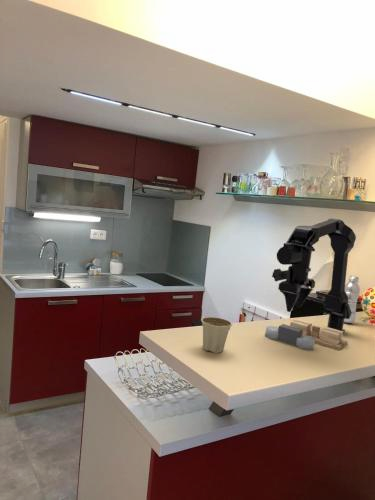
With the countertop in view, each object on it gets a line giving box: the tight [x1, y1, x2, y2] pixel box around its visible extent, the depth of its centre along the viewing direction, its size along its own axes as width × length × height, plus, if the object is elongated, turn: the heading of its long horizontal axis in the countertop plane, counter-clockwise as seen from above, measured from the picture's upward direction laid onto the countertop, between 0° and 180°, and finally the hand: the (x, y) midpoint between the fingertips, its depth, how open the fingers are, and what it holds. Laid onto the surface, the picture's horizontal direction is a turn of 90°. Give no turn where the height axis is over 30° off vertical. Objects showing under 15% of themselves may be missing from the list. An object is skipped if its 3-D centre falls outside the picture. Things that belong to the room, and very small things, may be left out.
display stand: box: [289, 318, 348, 351], centre depth 146 cm, size 10×20×4 cm, turn 55°
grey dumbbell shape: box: [264, 323, 316, 351], centre depth 139 cm, size 6×17×5 cm, turn 55°
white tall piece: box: [344, 275, 361, 324], centre depth 173 cm, size 6×7×20 cm
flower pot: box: [200, 316, 233, 353], centre depth 123 cm, size 9×9×9 cm
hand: (293, 309), depth 138 cm, fingers open, 9 cm apart
